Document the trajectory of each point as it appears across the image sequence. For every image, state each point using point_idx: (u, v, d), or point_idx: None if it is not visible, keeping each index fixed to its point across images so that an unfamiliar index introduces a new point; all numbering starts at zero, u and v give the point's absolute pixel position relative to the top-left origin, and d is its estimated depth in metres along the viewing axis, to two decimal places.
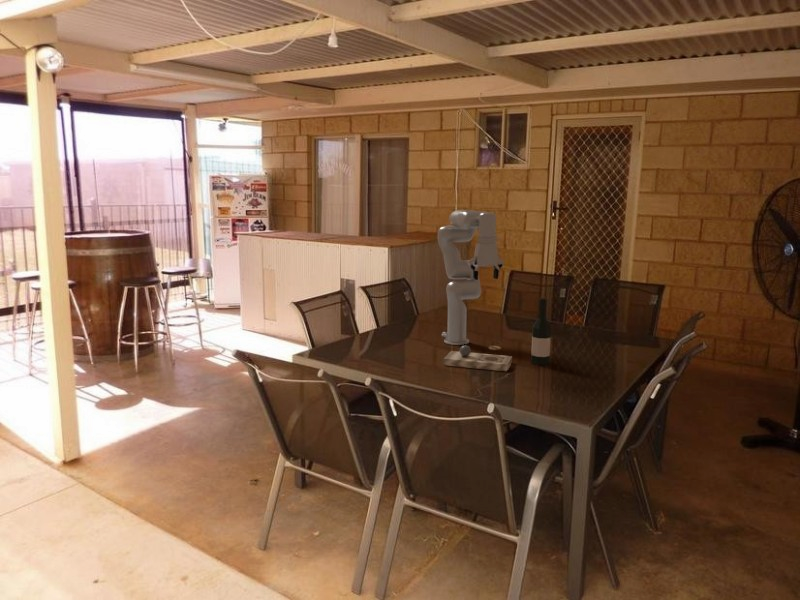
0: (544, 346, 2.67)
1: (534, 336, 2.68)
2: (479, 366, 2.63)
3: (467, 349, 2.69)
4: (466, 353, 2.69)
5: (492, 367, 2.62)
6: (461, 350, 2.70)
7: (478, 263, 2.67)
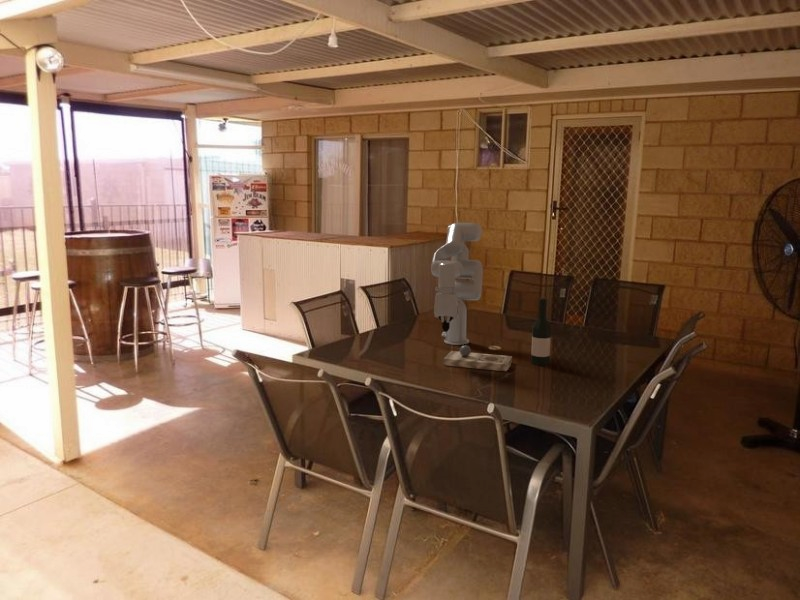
0: (544, 346, 2.67)
1: (534, 336, 2.68)
2: (479, 366, 2.63)
3: (467, 349, 2.69)
4: (466, 353, 2.69)
5: (492, 367, 2.62)
6: (461, 350, 2.70)
7: None
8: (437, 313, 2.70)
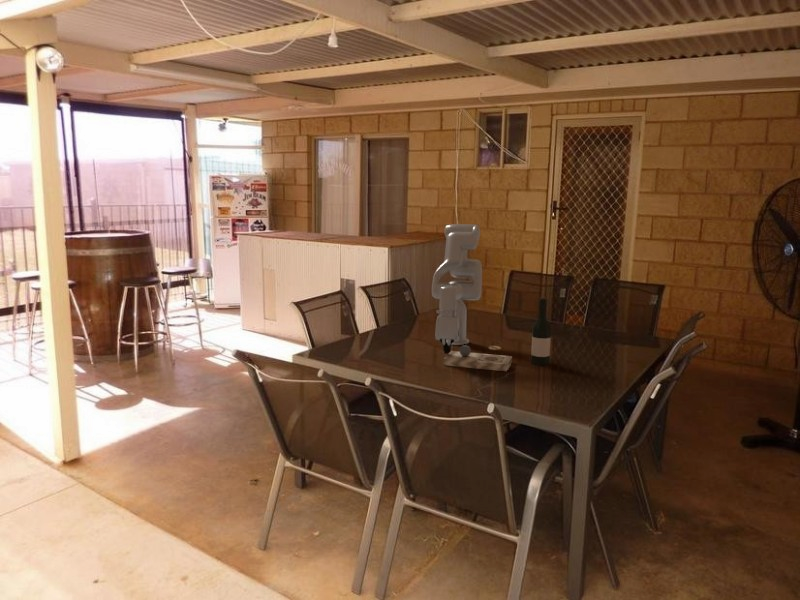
0: (544, 346, 2.67)
1: (534, 336, 2.68)
2: (479, 366, 2.63)
3: (467, 349, 2.69)
4: (466, 353, 2.69)
5: (492, 367, 2.62)
6: (461, 350, 2.70)
7: None
8: (438, 336, 2.72)
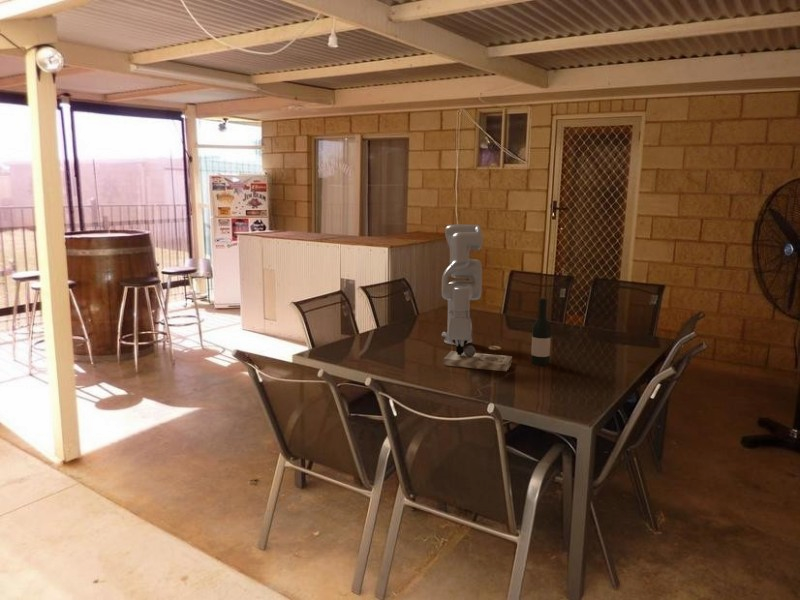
0: (544, 346, 2.67)
1: (534, 336, 2.68)
2: (479, 366, 2.63)
3: (472, 351, 2.69)
4: (470, 354, 2.69)
5: (492, 367, 2.62)
6: (466, 350, 2.69)
7: None
8: (451, 337, 2.70)
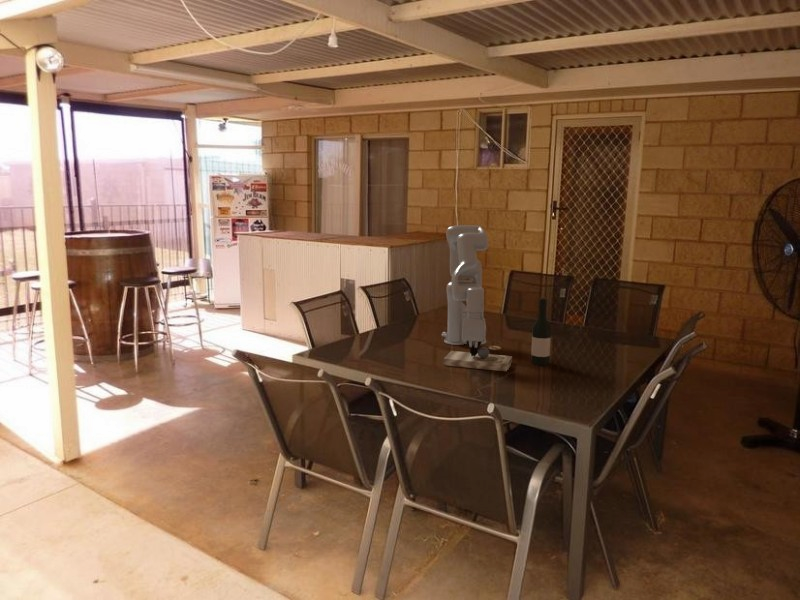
0: (544, 346, 2.67)
1: (534, 336, 2.68)
2: (479, 366, 2.63)
3: (486, 354, 2.67)
4: (483, 356, 2.67)
5: (492, 367, 2.62)
6: (481, 350, 2.67)
7: None
8: (465, 338, 2.68)
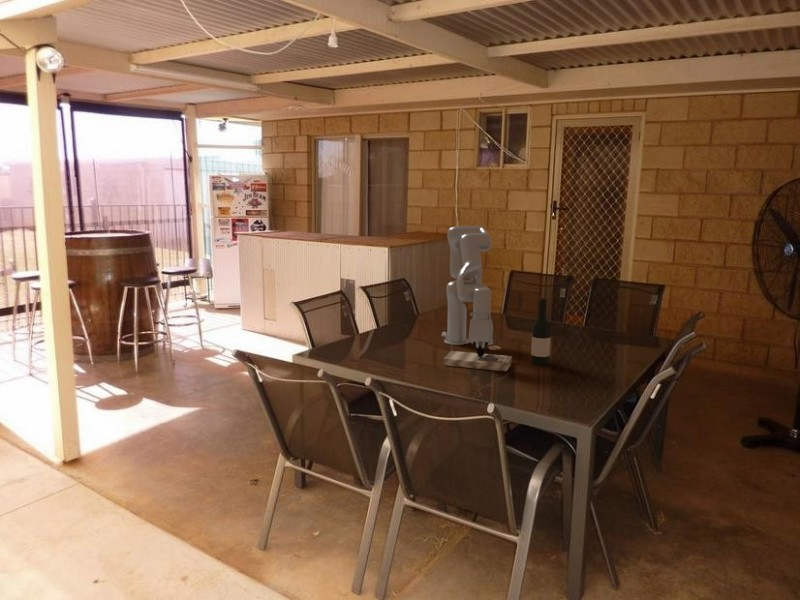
0: (544, 346, 2.67)
1: (534, 336, 2.68)
2: (479, 366, 2.63)
3: None
4: None
5: (492, 367, 2.62)
6: (491, 359, 2.66)
7: None
8: (472, 339, 2.67)
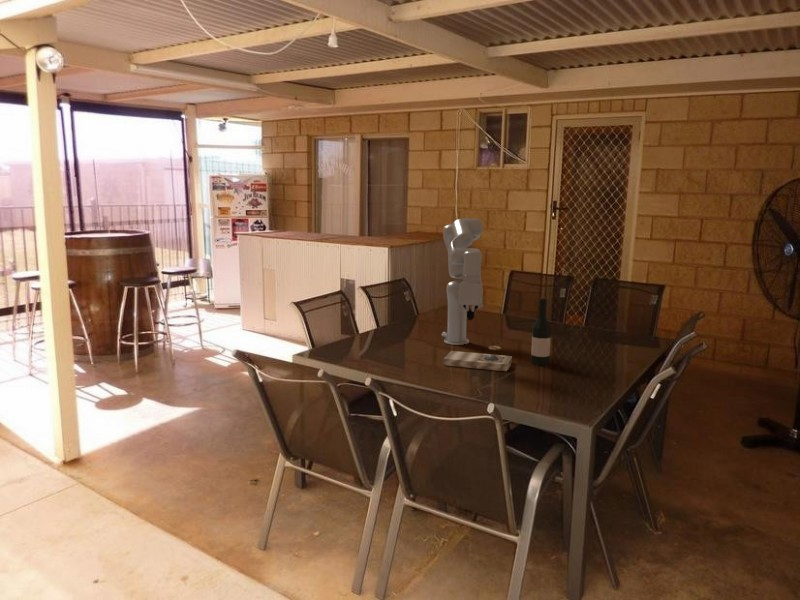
0: (544, 346, 2.67)
1: (534, 336, 2.68)
2: (479, 366, 2.63)
3: None
4: None
5: (492, 367, 2.62)
6: None
7: None
8: (462, 302, 2.67)
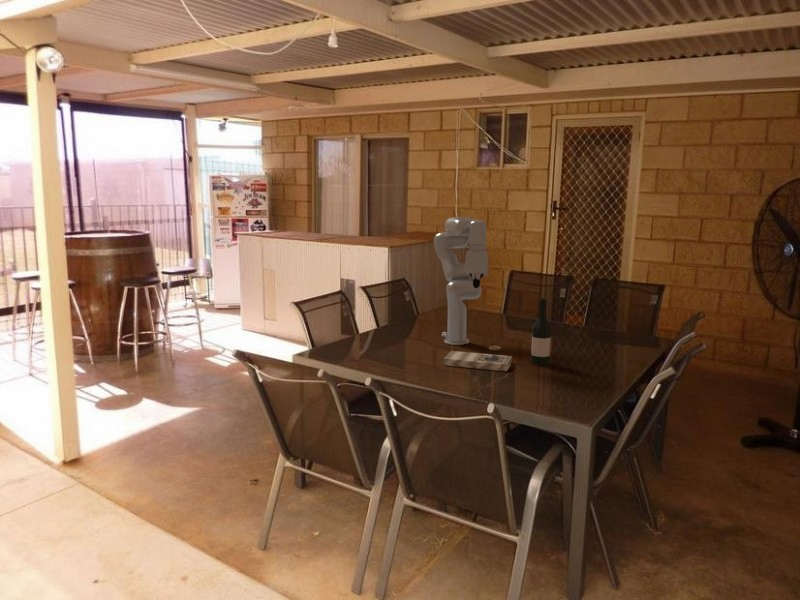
0: (544, 346, 2.67)
1: (534, 336, 2.68)
2: (479, 366, 2.63)
3: None
4: (489, 360, 2.67)
5: (492, 367, 2.62)
6: None
7: None
8: (468, 270, 2.76)
